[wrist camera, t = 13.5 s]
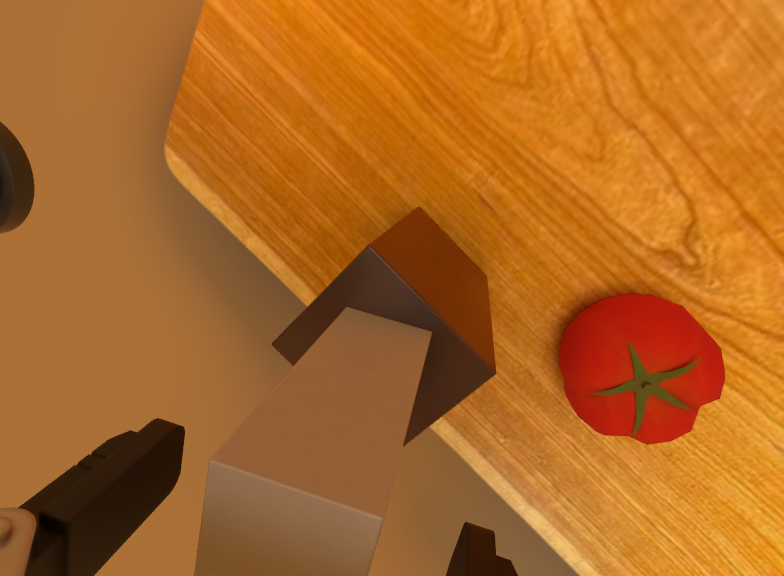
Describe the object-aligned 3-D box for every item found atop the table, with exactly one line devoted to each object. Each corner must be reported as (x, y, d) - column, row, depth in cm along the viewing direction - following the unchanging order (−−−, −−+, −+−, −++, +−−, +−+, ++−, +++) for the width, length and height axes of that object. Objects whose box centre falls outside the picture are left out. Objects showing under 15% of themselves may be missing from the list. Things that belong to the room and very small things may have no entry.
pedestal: (361, 264, 38) (270, 344, 21) (419, 205, 36) (368, 244, 19) (426, 329, 39) (388, 459, 22) (487, 276, 37) (497, 374, 20)
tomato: (629, 256, 34) (669, 280, 27) (722, 356, 35) (784, 405, 28) (521, 341, 38) (531, 383, 31) (607, 431, 39) (637, 492, 31)
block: (329, 382, 21) (190, 592, 11) (346, 306, 20) (208, 460, 10) (410, 407, 21) (345, 650, 11) (432, 331, 20) (383, 519, 9)
